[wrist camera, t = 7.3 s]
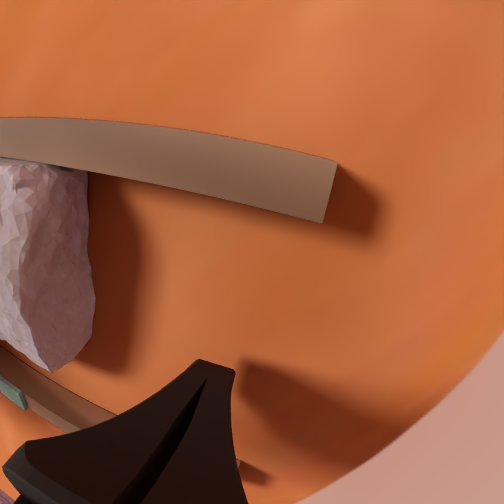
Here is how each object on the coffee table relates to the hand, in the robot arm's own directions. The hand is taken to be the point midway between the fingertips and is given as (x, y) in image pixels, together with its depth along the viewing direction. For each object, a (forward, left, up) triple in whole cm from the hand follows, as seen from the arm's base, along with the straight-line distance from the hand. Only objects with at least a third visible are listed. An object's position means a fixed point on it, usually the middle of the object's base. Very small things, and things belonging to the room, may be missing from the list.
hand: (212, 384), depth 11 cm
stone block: (+2, +12, -2) cm, 12 cm away
